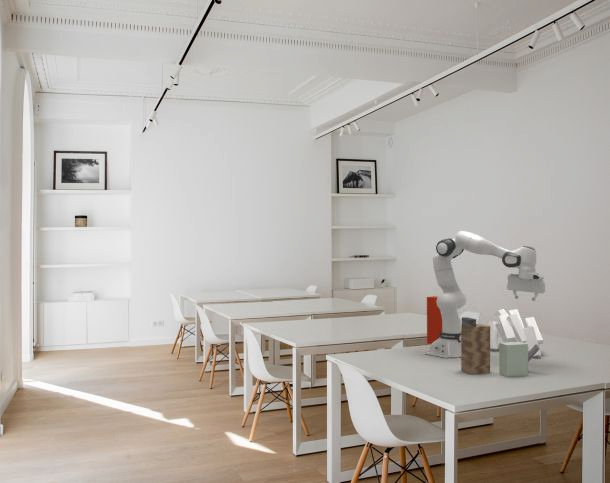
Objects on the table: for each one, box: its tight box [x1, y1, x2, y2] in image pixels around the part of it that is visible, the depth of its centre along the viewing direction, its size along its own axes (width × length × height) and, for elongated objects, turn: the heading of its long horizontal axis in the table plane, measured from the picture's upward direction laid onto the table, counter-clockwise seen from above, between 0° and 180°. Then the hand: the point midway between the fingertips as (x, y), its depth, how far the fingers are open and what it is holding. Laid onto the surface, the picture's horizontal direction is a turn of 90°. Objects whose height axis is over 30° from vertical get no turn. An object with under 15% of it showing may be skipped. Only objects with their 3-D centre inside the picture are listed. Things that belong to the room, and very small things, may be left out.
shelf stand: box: [460, 316, 491, 375], centre depth 313 cm, size 12×9×29 cm
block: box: [498, 341, 529, 378], centre depth 306 cm, size 12×7×16 cm, turn 106°
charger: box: [528, 344, 541, 363], centre depth 312 cm, size 17×5×7 cm
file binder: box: [426, 295, 442, 345], centre depth 393 cm, size 8×17×32 cm, turn 36°
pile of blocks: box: [488, 308, 544, 358], centre depth 367 cm, size 35×30×35 cm
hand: (524, 299), depth 326 cm, fingers open, 8 cm apart
